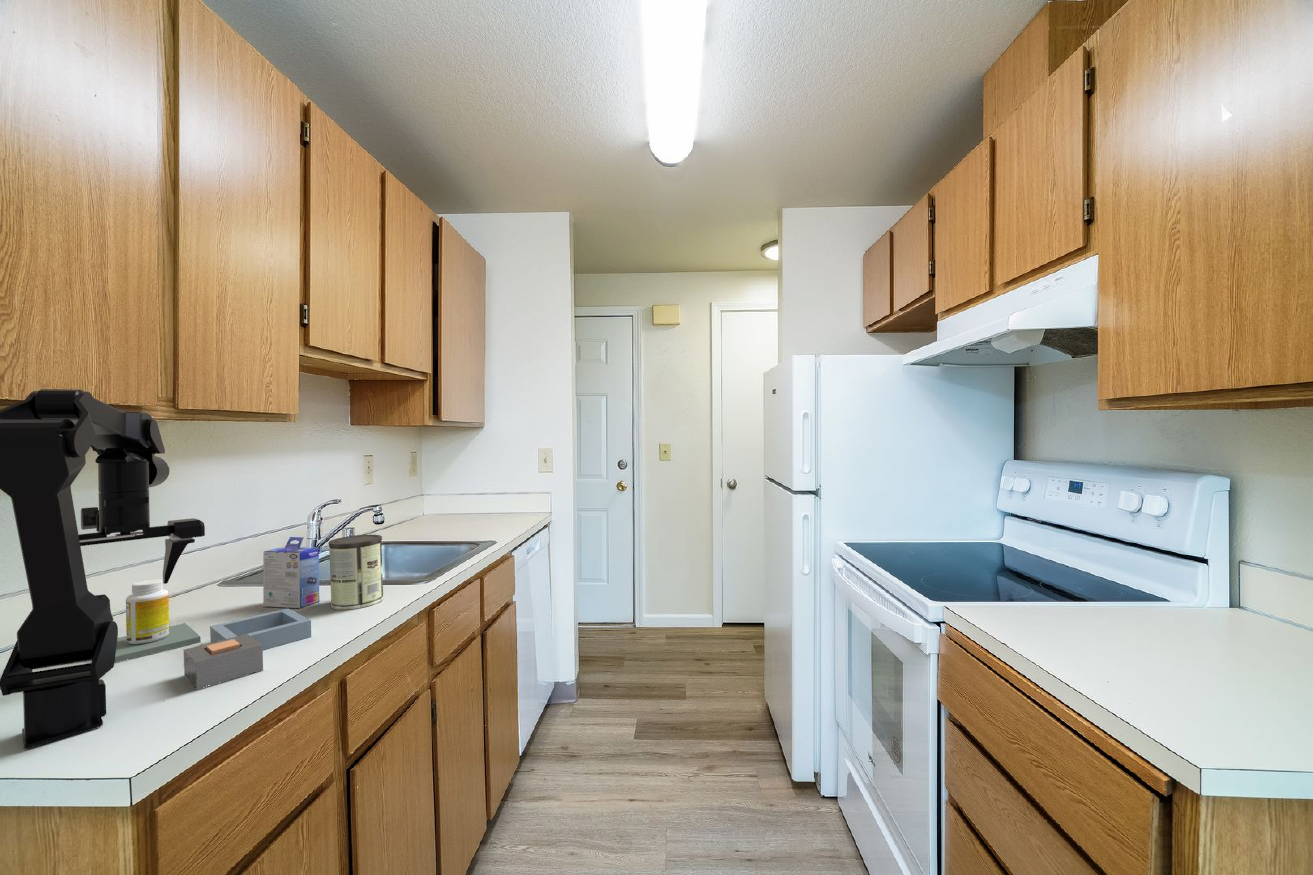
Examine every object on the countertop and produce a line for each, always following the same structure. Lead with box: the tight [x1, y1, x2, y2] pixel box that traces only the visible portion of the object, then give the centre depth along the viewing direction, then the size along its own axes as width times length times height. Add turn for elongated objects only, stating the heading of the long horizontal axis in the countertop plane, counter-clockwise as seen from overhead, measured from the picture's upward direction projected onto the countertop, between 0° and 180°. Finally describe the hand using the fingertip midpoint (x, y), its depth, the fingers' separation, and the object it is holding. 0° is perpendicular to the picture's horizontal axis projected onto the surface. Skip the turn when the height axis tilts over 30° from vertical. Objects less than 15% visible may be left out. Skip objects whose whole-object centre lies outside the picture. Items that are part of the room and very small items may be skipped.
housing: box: [209, 607, 312, 651], centre depth 97 cm, size 12×12×3 cm
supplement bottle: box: [125, 578, 170, 644], centre depth 96 cm, size 6×6×10 cm
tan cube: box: [206, 639, 240, 655], centre depth 83 cm, size 3×3×3 cm
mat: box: [114, 622, 202, 664], centre depth 96 cm, size 12×12×1 cm
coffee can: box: [328, 534, 384, 611], centre depth 118 cm, size 10×10×14 cm
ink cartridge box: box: [262, 536, 320, 609], centre depth 118 cm, size 10×6×14 cm, turn 78°
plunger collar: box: [183, 634, 264, 690], centre depth 83 cm, size 8×8×4 cm
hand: (126, 589), depth 85 cm, fingers open, 9 cm apart
